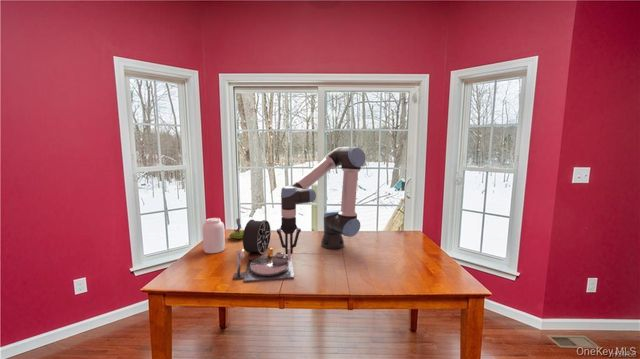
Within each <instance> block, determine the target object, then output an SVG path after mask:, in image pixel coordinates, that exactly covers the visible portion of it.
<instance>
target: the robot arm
mask: <svg viewBox="0 0 640 359" xmlns="http://www.w3.org/2000/svg"><path fill="white" fill-rule="evenodd" d="M365 162H366V154H365V151H364V150H363V149H362V148H361V147H358V146H339V147H337V148H335V149H333V150H332V151H330V152H329V153H327V154H326V155H325V156H324V157H323V160H321V161H320V162H319V163H318V164H316V165H314V167H313V168H312V169H310V170H309V171H308V172H307V173H305V174H304V175H303V176H302V177H301V178H299V179H298V180H297V181H296V182H294V183H293V184H292V185H286V186H283V187H281V189H280V190H281V191H280V192H281V193H280V194H281V195H280V197H281V198H280V202H281V204H280V206H281V208H280V209H281V212H280V213H281V225H280V227H279V228H277V229H276V234H278V238H279V240H280V244H281V247H282V248H284V250H285V251H284V252H285V253H284V254H285V255H287V256H288V261H291V257H292V256H291V255H292V254H293V252H294V251H293V249H294V248H295V247H297V244H298V240H299V235H300V233H301V232H302V230H301V228H300V227H298V226H297V217H296V215H297V205H302V204H310V203H314V202H315V201H316V200H317V193H316V191H315V189H313V188H311V187H312V186H313V185H314V184H316V182H318V181H319V180H321V179H322V177H324V176H325V175H326V174H327V173H328V172H330V171H331V170H334V169H336V168H337V167H339V166H340V169H341V171H343V174H342V187H341V188H342V189H341V190H342V191H341V201H340V203H341V204H340V209H339V210H338V209H334V210H333V209H331V210H326V211H325V212H324V214H323V235H322V237H321V241H320V245H321V247H322V248H325V249H329V250H337V249H341V248H344V246H345V241H344V237H348V238H349V237H350V238H353V237H355V236H356V235H357V234H358V233H359V232H360V229H361V222H360V220H359V219H358V214H357V213H356V200H357V190H358V188H357V186H358V175H359V174H358V173H359V172H360V171H361V170H362V168H361V167H363V166H364V164H365ZM295 231H296V232H295ZM282 232H283V233H284V239H283V236H282ZM294 233H295V237H293V235H294ZM288 236H289V237H288ZM343 236H344V237H343ZM293 238H294V239H293ZM284 240H285V241H284ZM293 240H294V241H293ZM288 241H289V244H288ZM284 242H285V243H284ZM288 245H289V246H288Z"/></svg>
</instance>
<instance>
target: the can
mask: <svg viewBox="0 0 640 359" xmlns="http://www.w3.org/2000/svg"><path fill="white" fill-rule="evenodd" d="M225 236H226V235H225V224H224V222H223V221H221V218H220V217H210V218H207V219H205V223H203V225H202V244H203V252H204V253H205V254H218V253H221V252H223V251H225V249H226V240H225V238H226V237H225Z"/></svg>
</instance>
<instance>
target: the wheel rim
mask: <svg viewBox="0 0 640 359" xmlns="http://www.w3.org/2000/svg"><path fill="white" fill-rule="evenodd" d="M271 230H272V228H271V225H270V222H269V221H268V220H266V219H264V220H254V219H249V220H248V221H247V223H246V224H245V227H244V230H243V231H244V233H243V238H242V246H243V250H244V252H245V253H253V252H254V253H258V254H260V255H263V254H265V253H267V248H269V247H270V246H269V245H270V241H271V235H272V234H271Z"/></svg>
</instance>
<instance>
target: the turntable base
mask: <svg viewBox="0 0 640 359" xmlns="http://www.w3.org/2000/svg"><path fill="white" fill-rule="evenodd" d="M255 259H256V258H253V259H252V258H251V259H248V262H247V266H246V268H245V269H246V270H245V275H244V279H243V283H253V282H256V283H257V282H268V281H282V280H284V281H285V280H293V279H295V275H294V266H293V259H292V256H291V261H289V268H288V269H287V270H286V271H285V272H283V273H281V274H277V275H273V276H260V275H256V274H254V273H252V272H251V270H250V264H251V262H252V261H254V260H255Z"/></svg>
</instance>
